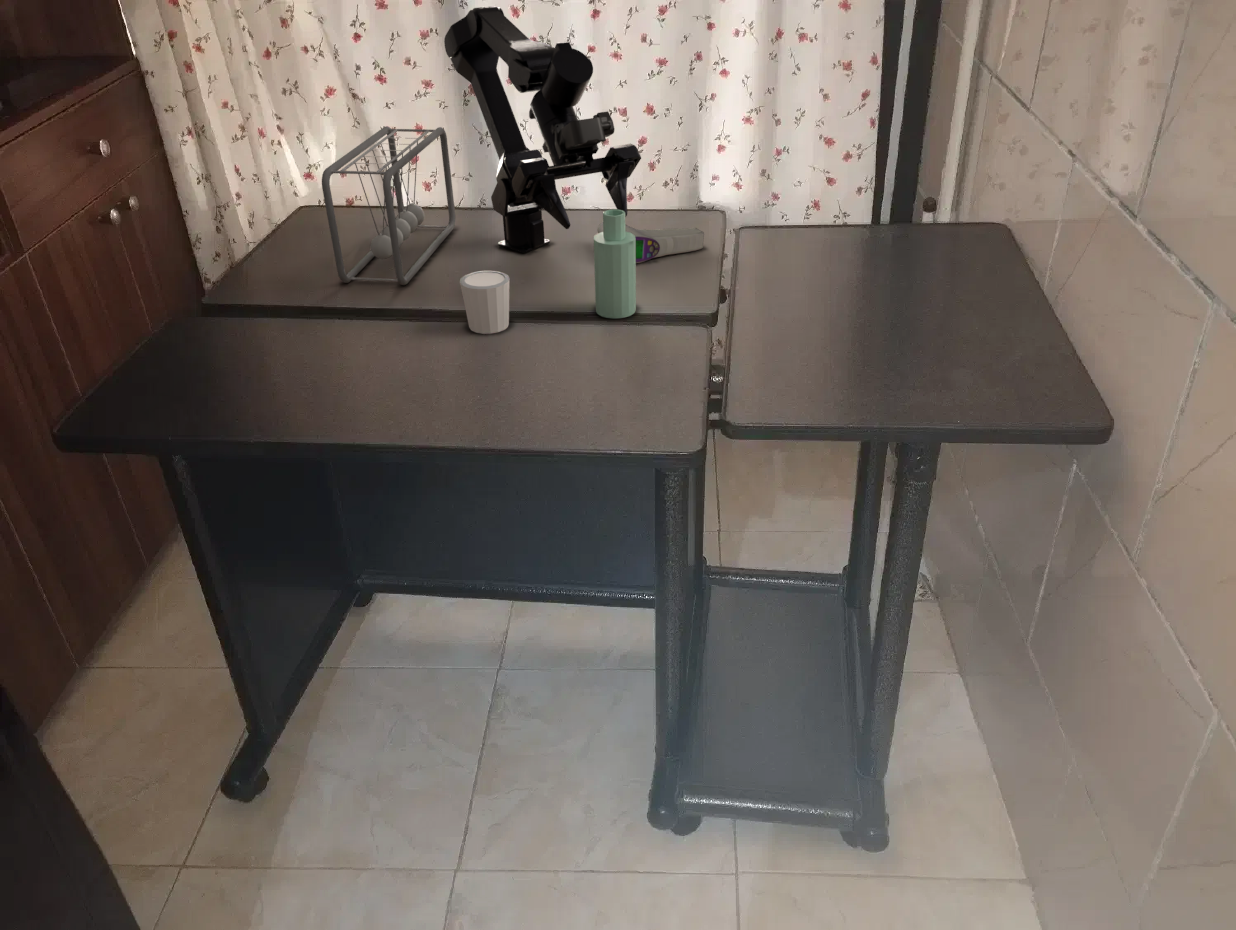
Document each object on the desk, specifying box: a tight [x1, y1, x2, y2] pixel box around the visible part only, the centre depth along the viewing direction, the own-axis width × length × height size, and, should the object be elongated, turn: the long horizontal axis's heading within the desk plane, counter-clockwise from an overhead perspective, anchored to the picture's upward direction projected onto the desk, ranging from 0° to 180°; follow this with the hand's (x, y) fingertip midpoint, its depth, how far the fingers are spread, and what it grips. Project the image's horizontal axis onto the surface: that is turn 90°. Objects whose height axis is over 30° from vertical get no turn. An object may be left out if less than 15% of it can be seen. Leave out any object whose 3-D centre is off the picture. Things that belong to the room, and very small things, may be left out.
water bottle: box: [593, 208, 637, 319], centre depth 136 cm, size 6×6×14 cm
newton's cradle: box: [321, 125, 456, 286], centre depth 156 cm, size 30×10×18 cm, turn 172°
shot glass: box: [459, 270, 511, 335], centre depth 134 cm, size 7×7×7 cm
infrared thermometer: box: [597, 221, 705, 264], centre depth 161 cm, size 5×12×15 cm
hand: (597, 222), depth 137 cm, fingers open, 9 cm apart
